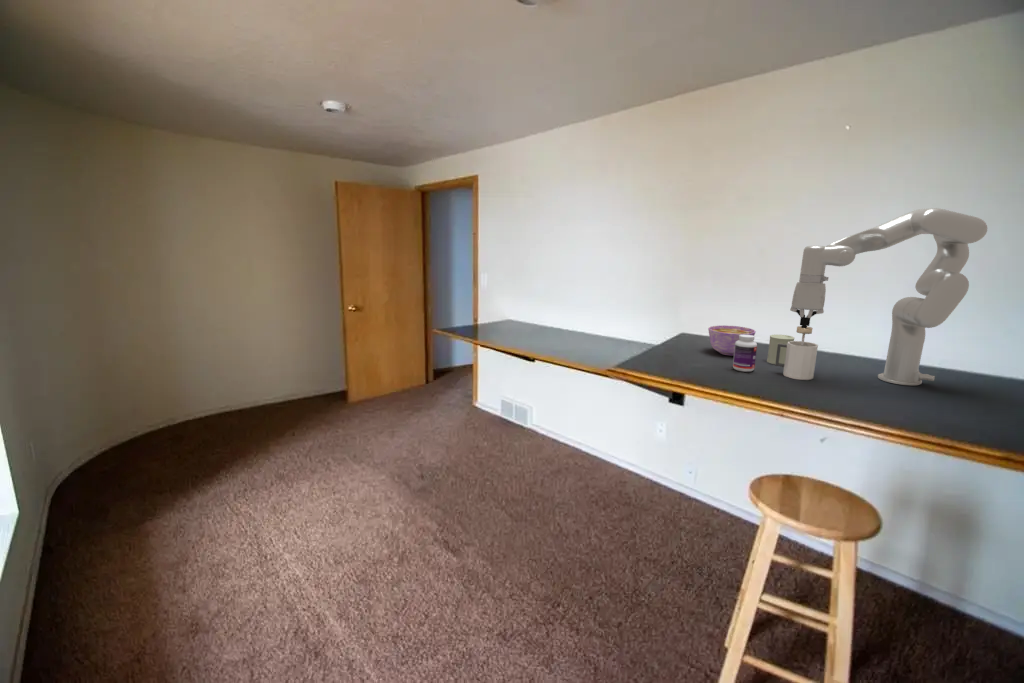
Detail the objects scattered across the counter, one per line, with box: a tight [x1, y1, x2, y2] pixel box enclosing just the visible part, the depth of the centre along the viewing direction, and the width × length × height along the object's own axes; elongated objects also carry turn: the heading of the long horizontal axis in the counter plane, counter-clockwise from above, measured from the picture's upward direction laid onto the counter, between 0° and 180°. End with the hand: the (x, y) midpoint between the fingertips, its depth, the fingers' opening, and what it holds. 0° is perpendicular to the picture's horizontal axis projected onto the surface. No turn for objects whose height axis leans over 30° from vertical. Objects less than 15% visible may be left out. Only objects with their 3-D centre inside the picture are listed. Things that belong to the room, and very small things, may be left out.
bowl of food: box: [707, 325, 757, 357], centre depth 209 cm, size 20×20×12 cm
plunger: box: [796, 325, 813, 346], centre depth 173 cm, size 7×7×14 cm
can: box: [766, 334, 795, 365], centre depth 194 cm, size 9×9×12 cm
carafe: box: [774, 340, 819, 381], centre depth 175 cm, size 13×10×13 cm
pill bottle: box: [732, 335, 758, 373], centre depth 183 cm, size 8×8×14 cm
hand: (804, 327), depth 171 cm, fingers closed
